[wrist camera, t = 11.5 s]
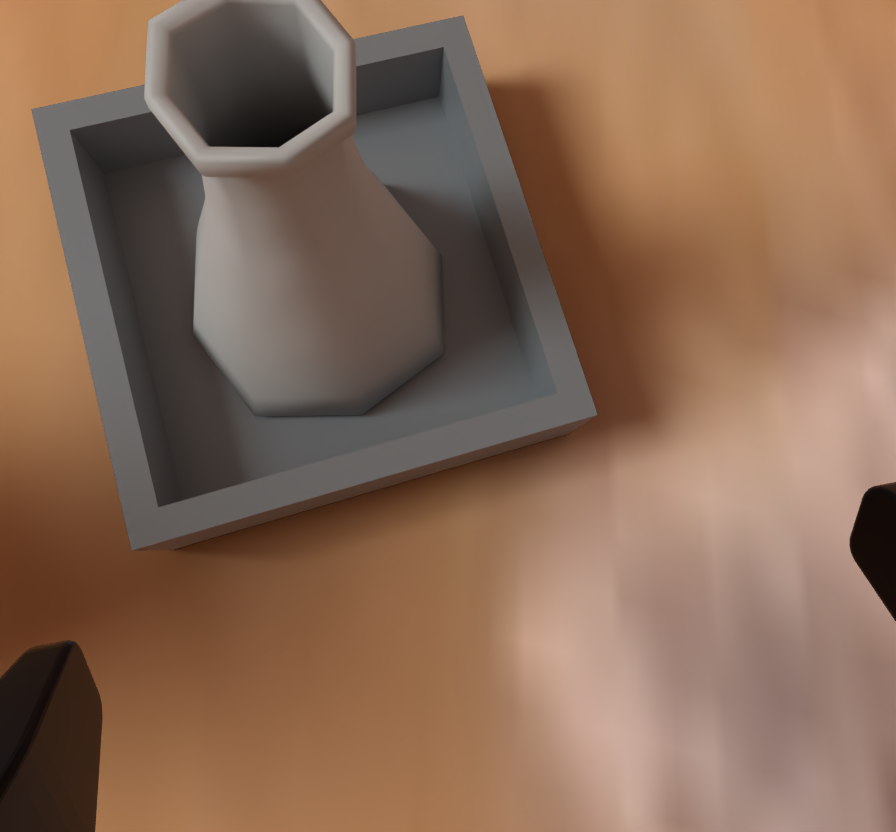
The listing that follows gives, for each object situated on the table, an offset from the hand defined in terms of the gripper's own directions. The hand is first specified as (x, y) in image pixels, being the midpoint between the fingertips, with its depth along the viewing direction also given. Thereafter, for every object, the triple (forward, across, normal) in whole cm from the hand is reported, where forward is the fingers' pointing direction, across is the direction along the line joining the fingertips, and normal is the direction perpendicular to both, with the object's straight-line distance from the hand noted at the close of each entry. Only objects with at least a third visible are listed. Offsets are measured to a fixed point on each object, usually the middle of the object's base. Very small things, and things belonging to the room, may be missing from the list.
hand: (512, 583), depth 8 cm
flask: (+14, +1, +2) cm, 14 cm away
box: (+15, +1, +2) cm, 15 cm away
